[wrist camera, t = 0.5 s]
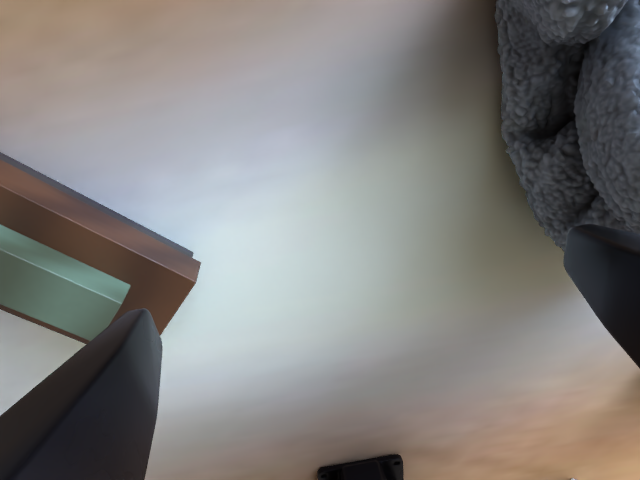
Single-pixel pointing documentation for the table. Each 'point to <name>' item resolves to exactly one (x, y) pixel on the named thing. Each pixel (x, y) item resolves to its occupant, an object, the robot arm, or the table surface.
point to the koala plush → (573, 109)
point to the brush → (81, 259)
